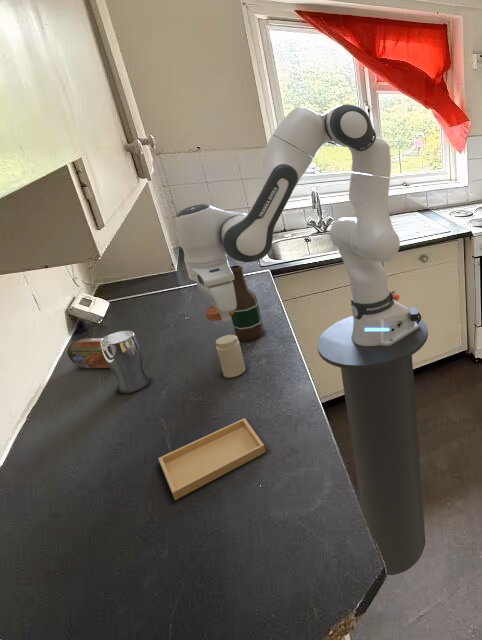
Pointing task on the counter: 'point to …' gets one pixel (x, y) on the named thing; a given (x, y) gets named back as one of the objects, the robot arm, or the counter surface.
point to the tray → (210, 457)
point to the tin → (87, 353)
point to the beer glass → (125, 360)
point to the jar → (230, 356)
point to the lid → (214, 314)
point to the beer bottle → (245, 309)
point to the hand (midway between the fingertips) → (221, 316)
